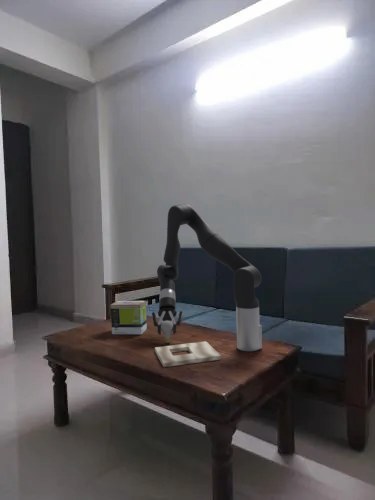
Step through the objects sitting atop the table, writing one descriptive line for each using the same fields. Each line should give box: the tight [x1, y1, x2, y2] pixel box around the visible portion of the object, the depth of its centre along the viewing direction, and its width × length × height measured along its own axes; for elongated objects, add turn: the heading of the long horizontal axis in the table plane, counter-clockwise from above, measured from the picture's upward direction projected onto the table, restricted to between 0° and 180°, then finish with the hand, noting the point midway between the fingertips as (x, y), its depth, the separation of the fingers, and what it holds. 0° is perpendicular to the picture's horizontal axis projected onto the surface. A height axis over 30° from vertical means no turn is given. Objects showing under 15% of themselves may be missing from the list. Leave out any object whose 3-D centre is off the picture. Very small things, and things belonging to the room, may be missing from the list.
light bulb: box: [161, 321, 173, 344], centre depth 156 cm, size 6×6×10 cm
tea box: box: [109, 300, 148, 335], centre depth 175 cm, size 15×10×15 cm, turn 80°
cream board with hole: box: [154, 341, 222, 368], centre depth 141 cm, size 22×18×2 cm
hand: (167, 333), depth 154 cm, fingers closed on light bulb, 5 cm apart
